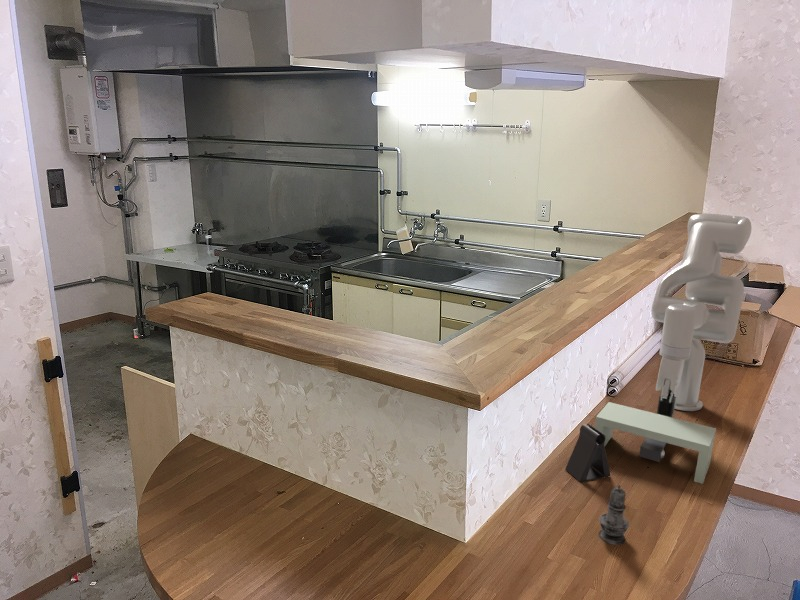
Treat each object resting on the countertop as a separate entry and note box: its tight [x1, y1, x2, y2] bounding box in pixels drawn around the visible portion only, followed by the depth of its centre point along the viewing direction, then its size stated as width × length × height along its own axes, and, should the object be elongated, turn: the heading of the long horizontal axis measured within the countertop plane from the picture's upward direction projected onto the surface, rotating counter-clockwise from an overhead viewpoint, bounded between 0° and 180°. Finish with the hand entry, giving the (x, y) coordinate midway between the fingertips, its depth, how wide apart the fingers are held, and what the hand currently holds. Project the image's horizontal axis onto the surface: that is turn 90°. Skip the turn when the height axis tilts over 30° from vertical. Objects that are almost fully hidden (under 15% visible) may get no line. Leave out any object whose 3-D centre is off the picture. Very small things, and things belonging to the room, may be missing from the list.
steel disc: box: [660, 449, 666, 460], centre depth 170 cm, size 6×6×1 cm
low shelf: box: [594, 401, 717, 485], centre depth 166 cm, size 12×27×10 cm, turn 58°
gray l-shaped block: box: [638, 393, 676, 463], centre depth 172 cm, size 17×5×12 cm, turn 148°
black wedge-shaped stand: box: [564, 423, 611, 483], centre depth 157 cm, size 9×6×12 cm, turn 110°
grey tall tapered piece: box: [598, 484, 630, 546], centre depth 132 cm, size 6×6×12 cm
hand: (665, 412), depth 178 cm, fingers closed on gray l-shaped block
